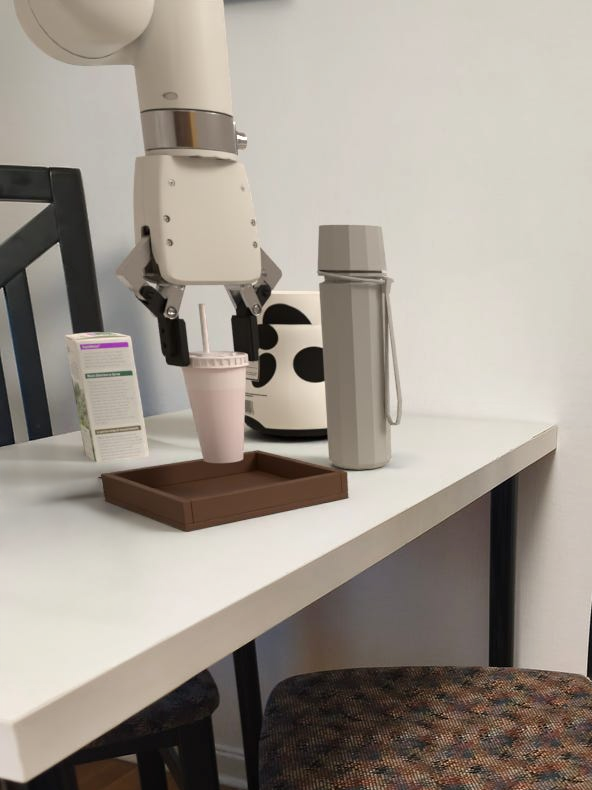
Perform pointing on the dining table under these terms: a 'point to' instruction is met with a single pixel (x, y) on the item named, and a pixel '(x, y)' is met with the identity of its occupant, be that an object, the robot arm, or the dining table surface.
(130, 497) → the tray
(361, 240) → the water bottle
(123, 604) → the dining table surface
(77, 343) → the syrup box
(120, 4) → the robot arm
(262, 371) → the milk container
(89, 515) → the dining table surface
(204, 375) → the smoothie
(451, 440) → the dining table surface
